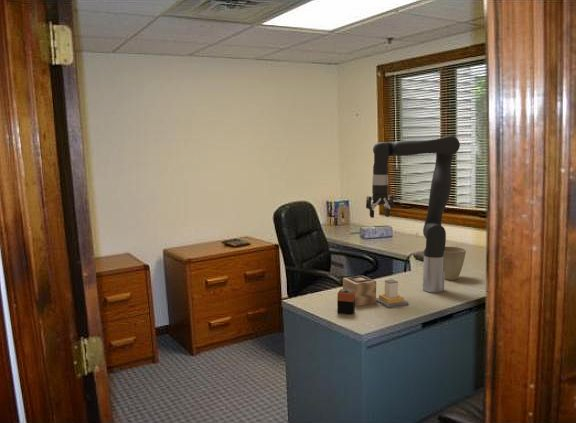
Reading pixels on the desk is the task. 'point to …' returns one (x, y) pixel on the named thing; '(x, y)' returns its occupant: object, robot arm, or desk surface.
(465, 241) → the desk surface
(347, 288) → the wood grain square block
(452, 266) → the plant pot
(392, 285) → the plug
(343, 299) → the battery
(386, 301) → the orange-framed grey plate
